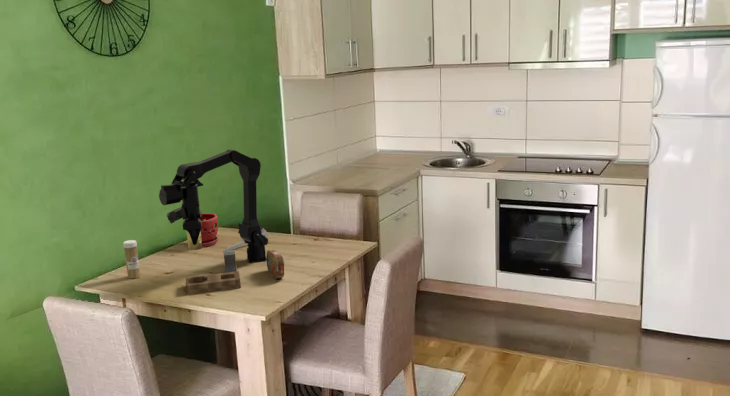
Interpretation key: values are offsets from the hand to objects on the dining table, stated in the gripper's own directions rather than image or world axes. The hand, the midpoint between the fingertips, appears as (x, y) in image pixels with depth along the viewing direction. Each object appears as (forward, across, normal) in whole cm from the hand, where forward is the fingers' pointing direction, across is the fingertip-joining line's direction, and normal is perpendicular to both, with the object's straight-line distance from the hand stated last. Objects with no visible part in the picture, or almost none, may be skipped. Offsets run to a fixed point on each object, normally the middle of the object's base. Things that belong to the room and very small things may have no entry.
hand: (194, 242), depth 242 cm
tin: (+13, +8, +27) cm, 31 cm away
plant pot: (+13, -42, +2) cm, 44 cm away
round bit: (+2, 0, 0) cm, 2 cm away
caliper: (+13, -32, +19) cm, 39 cm away
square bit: (+13, -1, +12) cm, 17 cm away
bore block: (+13, +13, +5) cm, 19 cm away
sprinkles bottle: (+13, -8, -23) cm, 28 cm away
